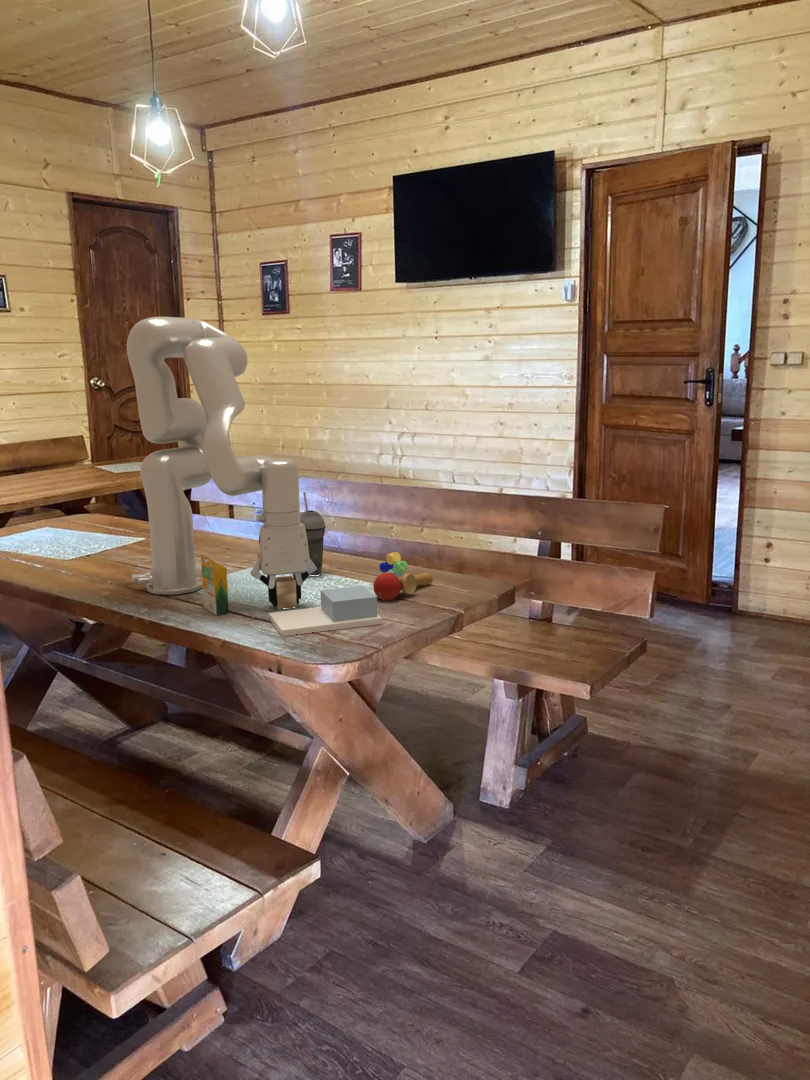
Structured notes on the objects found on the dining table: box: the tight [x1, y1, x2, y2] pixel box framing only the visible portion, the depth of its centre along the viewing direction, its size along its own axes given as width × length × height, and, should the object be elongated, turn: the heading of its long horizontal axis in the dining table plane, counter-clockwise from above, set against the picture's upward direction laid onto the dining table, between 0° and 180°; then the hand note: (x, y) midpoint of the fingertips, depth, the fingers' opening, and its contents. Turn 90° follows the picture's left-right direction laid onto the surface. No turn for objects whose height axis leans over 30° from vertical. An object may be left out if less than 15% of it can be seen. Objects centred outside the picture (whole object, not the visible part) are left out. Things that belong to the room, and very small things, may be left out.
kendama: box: [372, 571, 433, 602], centre depth 193 cm, size 8×6×18 cm
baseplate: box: [268, 585, 383, 637], centre depth 173 cm, size 20×12×5 cm, turn 111°
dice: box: [379, 551, 409, 577], centre depth 205 cm, size 8×3×6 cm, turn 41°
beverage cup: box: [300, 491, 327, 575], centre depth 208 cm, size 7×7×20 cm
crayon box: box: [200, 553, 230, 616], centre depth 181 cm, size 7×3×12 cm, turn 33°
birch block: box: [275, 575, 298, 610], centre depth 184 cm, size 4×4×6 cm
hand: (285, 603), depth 184 cm, fingers closed on birch block, 4 cm apart
